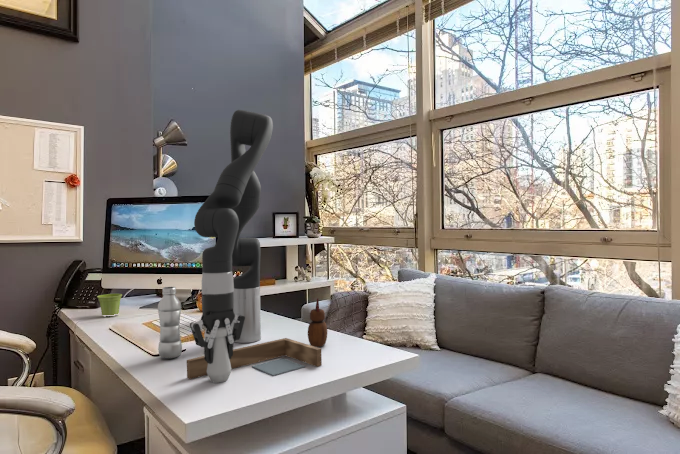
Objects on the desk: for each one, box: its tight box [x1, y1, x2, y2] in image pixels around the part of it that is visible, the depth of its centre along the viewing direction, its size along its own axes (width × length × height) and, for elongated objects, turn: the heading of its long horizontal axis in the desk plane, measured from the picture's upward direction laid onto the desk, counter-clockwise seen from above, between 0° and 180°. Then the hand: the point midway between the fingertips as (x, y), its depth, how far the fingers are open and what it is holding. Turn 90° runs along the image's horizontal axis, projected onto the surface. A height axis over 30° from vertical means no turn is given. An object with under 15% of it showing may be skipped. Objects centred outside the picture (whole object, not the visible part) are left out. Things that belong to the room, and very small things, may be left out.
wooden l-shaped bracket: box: [186, 337, 323, 380], centre depth 118 cm, size 16×30×4 cm, turn 132°
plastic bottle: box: [157, 286, 183, 359], centre depth 131 cm, size 6×7×20 cm
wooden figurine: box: [307, 298, 328, 348], centre depth 142 cm, size 7×6×15 cm
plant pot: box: [96, 293, 123, 316], centre depth 192 cm, size 9×9×9 cm
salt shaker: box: [206, 327, 232, 384], centre depth 112 cm, size 6×6×13 cm
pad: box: [251, 357, 306, 377], centre depth 121 cm, size 10×10×1 cm
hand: (218, 360), depth 112 cm, fingers open, 4 cm apart
